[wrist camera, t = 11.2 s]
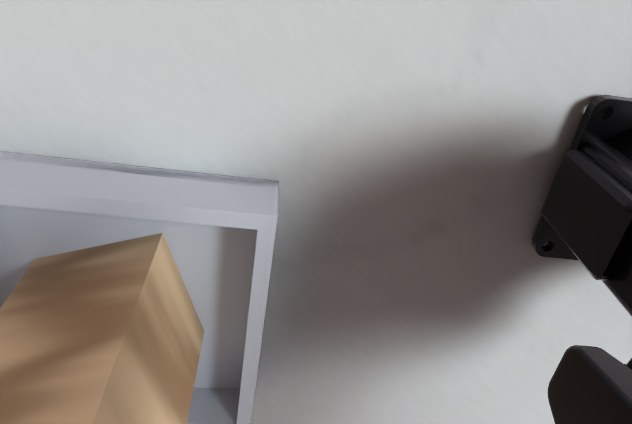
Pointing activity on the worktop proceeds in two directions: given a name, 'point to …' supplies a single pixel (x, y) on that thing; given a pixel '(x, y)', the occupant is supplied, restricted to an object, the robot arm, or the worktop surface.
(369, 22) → the worktop surface
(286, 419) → the worktop surface
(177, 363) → the oak block
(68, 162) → the dish
